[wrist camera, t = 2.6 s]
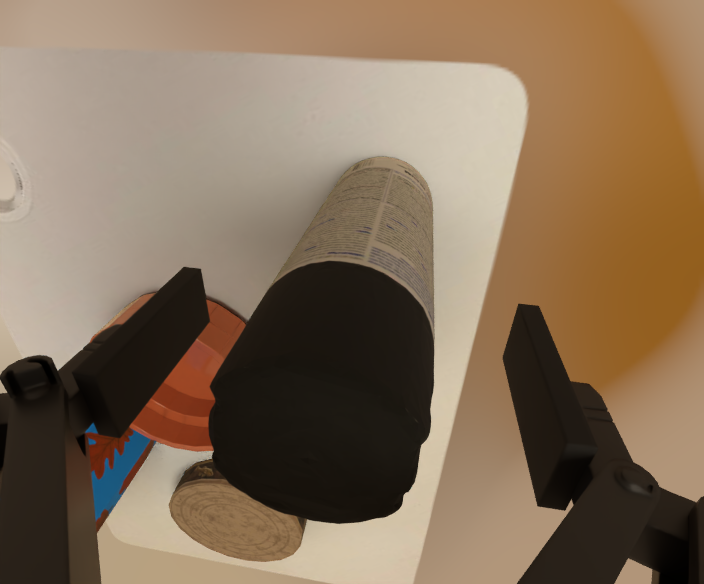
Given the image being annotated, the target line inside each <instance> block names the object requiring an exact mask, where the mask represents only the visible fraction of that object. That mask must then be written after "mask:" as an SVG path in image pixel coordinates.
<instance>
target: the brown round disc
mask: <svg viewBox="0 0 704 584" xmlns="http://www.w3.org/2000/svg"><path fill="white" fill-rule="evenodd" d="M169 508H170V513H171V517H172V518H173V519H174V521H175V522H176V524H177V525H178V526H179V528H180V529H181V530H182V531H184V532H185V533H186V534H187V535H188V536H190V537H191V538H192V539H193V540H195V541H197V542H198V543H200V544H202V545H204V546H205V547H207V548H209V549H211V550H214V551H216V552H219V553H221V554H224V555H227V556H230V557H234V558H239V559H243V560H248V561H261V562H267V561H275V560H282V559H284V558H286V557H289V556H291V555H293V554H294V553H295V552H296V551H297V549H298V548H299V547H300V545H301V541H302V537H303V533H304V529H305V525H306V521H307V519H305V518H301V517H297V516H294V515H288V514H283V513H281V512H278V511H276V510H273V509H271V508H268V507H266V506H265V505H263V504H262V503H260V502H258V501H255V500H253V499H252V498H250V497H249V496H248V495H246V494H245V493H243V492H241V491H239V490H238V489H237V488H235V487H234V486H232V485H231V484H229V483H228V481H227V479H226V478H225V477H224V476H223V475H221V474H220V473H219V472H218V471H217V470H216V469H215V468H214V463H213V459H210V460H206V461H202V462H199V463H196V464H194V465H193V466H192V467H190V468H189V469H188V470H186V471H185V473H184V475H183V477H182V478H181V480H180V482H179V484H178V486H177V487H176V489H175V491H174V493H173V495H172V497H171V500H170V503H169Z"/></svg>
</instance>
